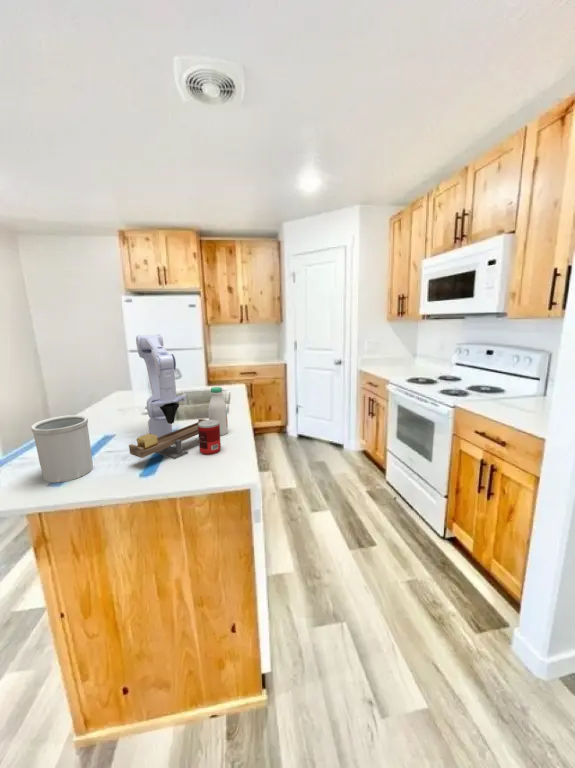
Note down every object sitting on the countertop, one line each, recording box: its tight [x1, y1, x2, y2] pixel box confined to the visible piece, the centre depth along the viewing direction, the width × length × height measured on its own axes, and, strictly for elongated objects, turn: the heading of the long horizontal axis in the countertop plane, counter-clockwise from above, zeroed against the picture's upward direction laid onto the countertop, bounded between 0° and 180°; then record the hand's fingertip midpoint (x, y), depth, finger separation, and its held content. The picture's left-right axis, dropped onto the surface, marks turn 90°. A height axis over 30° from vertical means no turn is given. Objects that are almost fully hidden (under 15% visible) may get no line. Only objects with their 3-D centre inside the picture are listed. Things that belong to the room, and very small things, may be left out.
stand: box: [154, 436, 189, 460], centre depth 123 cm, size 11×6×6 cm, turn 58°
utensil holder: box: [30, 414, 94, 484], centre depth 107 cm, size 15×15×18 cm
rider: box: [136, 432, 158, 450], centre depth 114 cm, size 4×5×4 cm
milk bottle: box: [207, 386, 229, 436], centre depth 142 cm, size 8×8×20 cm
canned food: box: [198, 419, 222, 455], centre depth 124 cm, size 8×8×11 cm
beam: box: [128, 418, 206, 459], centre depth 124 cm, size 7×32×3 cm, turn 148°
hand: (170, 423), depth 125 cm, fingers closed
